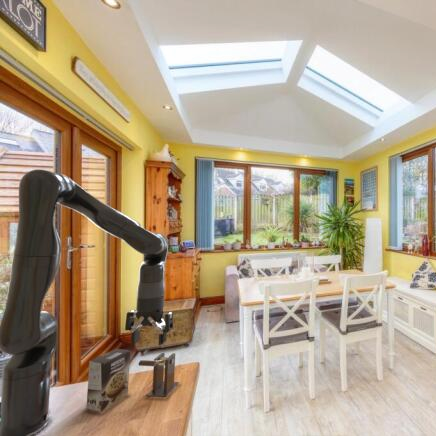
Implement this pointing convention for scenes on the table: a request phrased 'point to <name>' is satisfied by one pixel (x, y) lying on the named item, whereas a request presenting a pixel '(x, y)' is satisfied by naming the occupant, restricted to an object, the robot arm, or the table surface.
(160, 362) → the switch lever
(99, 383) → the coffee box
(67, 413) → the table surface
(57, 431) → the table surface
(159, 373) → the switch bracket
